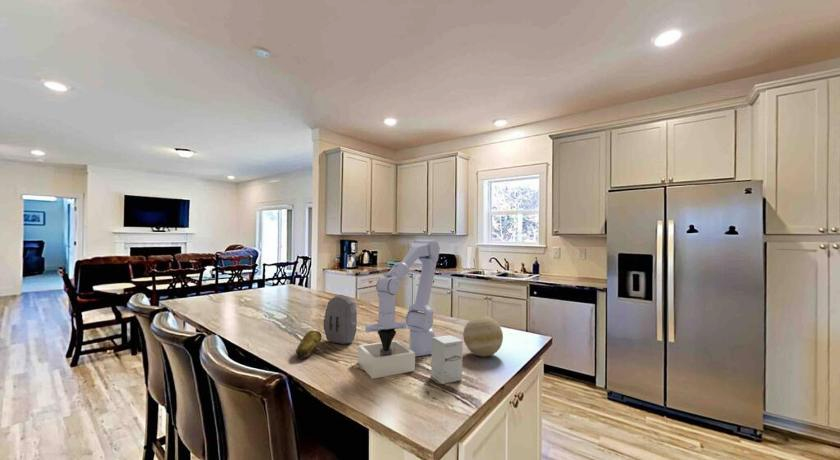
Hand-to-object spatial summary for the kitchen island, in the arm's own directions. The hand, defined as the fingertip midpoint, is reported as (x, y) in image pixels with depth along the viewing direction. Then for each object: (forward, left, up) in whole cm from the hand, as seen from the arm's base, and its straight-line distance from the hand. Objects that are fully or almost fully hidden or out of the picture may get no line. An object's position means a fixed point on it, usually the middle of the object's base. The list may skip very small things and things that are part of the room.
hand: (385, 351), depth 117 cm
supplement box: (-14, +17, -6) cm, 23 cm away
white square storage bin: (0, 0, -5) cm, 5 cm away
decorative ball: (-38, +5, -6) cm, 39 cm away
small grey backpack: (+8, -32, -6) cm, 33 cm away
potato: (+22, -23, -6) cm, 32 cm away
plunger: (0, 0, -5) cm, 5 cm away
